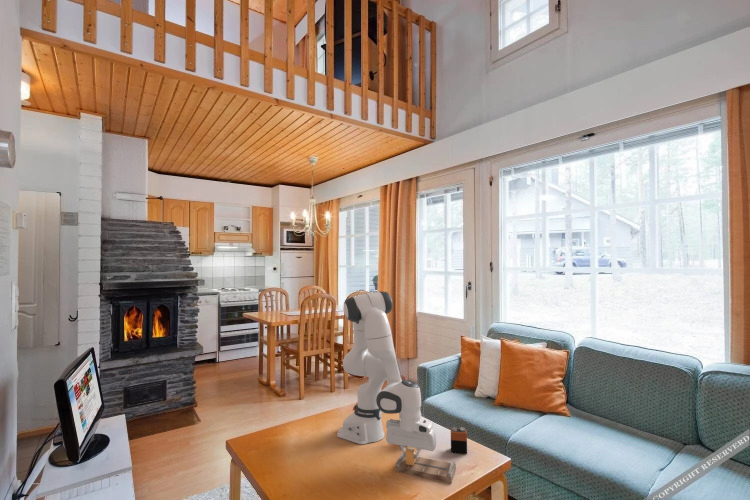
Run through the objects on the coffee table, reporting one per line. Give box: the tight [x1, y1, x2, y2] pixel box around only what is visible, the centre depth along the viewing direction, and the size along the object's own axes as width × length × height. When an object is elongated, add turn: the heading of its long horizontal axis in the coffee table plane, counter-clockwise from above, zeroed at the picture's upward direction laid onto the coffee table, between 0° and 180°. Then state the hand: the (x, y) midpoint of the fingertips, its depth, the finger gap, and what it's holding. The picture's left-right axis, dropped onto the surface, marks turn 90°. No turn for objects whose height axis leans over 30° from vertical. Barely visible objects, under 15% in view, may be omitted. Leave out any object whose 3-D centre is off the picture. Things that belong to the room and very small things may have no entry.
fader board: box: [394, 451, 457, 484], centre depth 146 cm, size 22×10×3 cm, turn 68°
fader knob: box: [405, 447, 417, 465], centre depth 149 cm, size 3×5×5 cm, turn 158°
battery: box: [450, 426, 468, 455], centre depth 161 cm, size 4×7×10 cm, turn 79°
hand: (410, 457), depth 149 cm, fingers closed on fader knob, 3 cm apart
